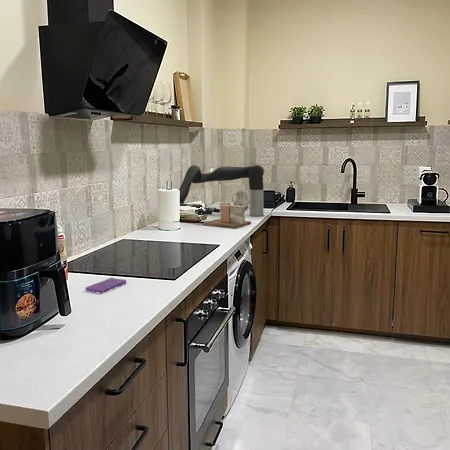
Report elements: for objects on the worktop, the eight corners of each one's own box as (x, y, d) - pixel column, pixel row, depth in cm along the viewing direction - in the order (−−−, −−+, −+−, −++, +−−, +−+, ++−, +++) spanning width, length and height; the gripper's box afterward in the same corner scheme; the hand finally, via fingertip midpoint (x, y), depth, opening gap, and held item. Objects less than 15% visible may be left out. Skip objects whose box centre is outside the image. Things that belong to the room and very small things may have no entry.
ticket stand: (220, 220, 287) (220, 202, 285) (251, 223, 275) (251, 204, 273) (203, 225, 272) (203, 206, 270) (234, 228, 260) (234, 208, 258)
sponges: (126, 285, 161) (126, 279, 161) (101, 295, 150) (101, 290, 150) (111, 282, 164) (110, 277, 164) (85, 292, 153) (85, 287, 153)
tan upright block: (224, 220, 277) (223, 204, 275) (232, 221, 273) (232, 205, 272) (220, 221, 274) (220, 205, 272) (229, 222, 271) (229, 206, 269)
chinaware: (244, 208, 350) (242, 186, 349) (260, 208, 338) (258, 186, 336) (216, 212, 332) (214, 189, 330) (231, 212, 320) (230, 188, 318)
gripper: (201, 214, 292) (222, 216, 283) (187, 217, 280) (209, 219, 271) (200, 202, 291) (222, 204, 282) (186, 205, 279) (208, 207, 270)
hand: (215, 211), depth 277 cm, fingers open, 8 cm apart
